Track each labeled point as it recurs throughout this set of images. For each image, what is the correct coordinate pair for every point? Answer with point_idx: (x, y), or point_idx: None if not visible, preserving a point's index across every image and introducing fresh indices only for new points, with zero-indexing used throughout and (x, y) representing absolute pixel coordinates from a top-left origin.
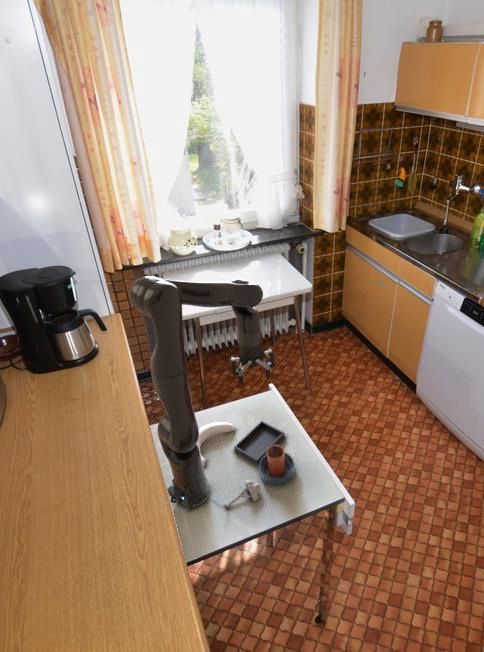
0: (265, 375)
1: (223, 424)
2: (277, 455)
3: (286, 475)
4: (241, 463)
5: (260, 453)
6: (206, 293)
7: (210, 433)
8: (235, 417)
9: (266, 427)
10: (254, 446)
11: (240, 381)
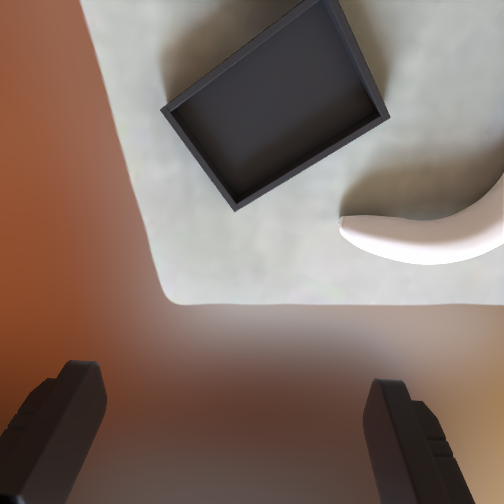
0: (99, 404)
1: (386, 241)
2: None
3: None
4: (383, 32)
5: (290, 51)
6: None
7: (445, 221)
8: (314, 271)
9: (224, 180)
10: (300, 103)
11: (420, 422)
